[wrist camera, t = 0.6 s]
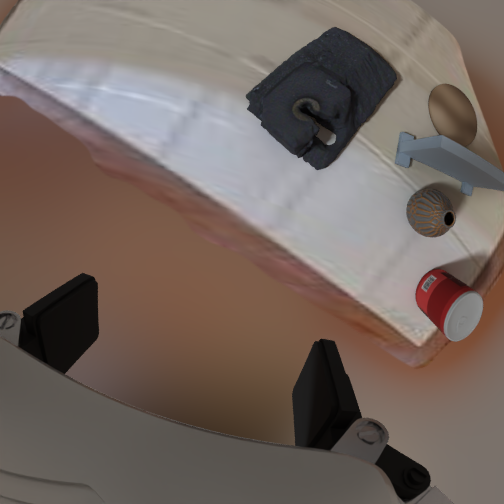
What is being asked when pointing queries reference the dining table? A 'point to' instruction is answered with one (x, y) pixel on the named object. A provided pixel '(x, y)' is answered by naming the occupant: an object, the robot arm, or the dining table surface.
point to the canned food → (449, 304)
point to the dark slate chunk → (321, 94)
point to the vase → (430, 213)
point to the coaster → (452, 114)
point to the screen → (450, 161)
